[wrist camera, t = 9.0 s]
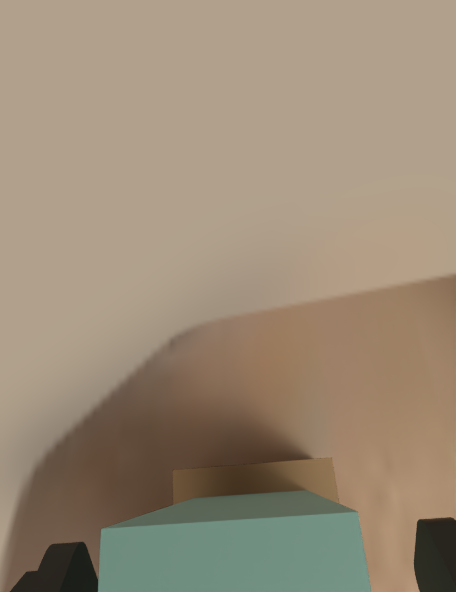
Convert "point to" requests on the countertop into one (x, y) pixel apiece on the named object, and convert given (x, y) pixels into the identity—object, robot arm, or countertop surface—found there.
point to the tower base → (256, 479)
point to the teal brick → (237, 547)
